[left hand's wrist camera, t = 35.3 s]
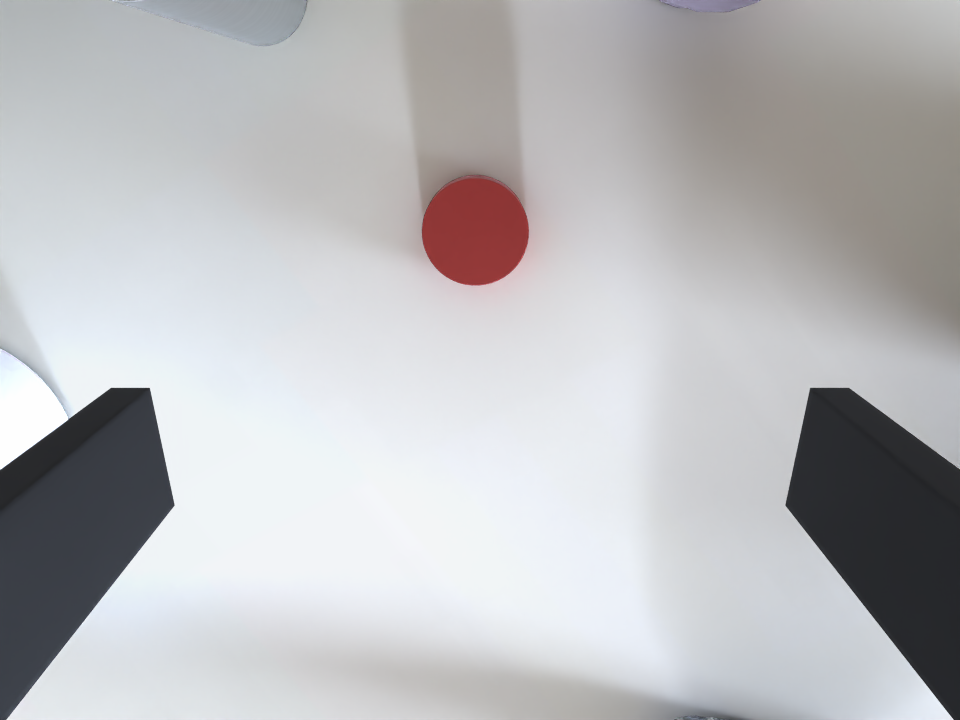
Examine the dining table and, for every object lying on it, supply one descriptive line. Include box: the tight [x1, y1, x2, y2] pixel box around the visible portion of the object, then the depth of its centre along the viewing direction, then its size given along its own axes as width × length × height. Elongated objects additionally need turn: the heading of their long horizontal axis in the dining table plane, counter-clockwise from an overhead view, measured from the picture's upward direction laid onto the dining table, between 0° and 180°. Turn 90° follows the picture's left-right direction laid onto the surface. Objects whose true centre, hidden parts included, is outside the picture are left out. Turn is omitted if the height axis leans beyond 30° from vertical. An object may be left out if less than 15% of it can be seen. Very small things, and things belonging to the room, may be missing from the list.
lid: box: [422, 175, 529, 285], centre depth 37 cm, size 6×6×2 cm
